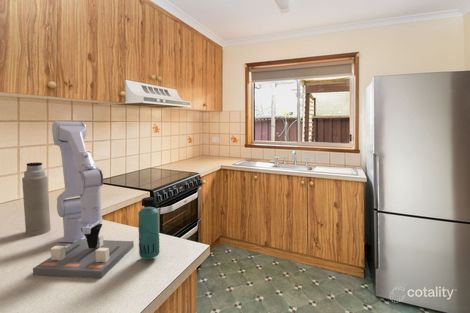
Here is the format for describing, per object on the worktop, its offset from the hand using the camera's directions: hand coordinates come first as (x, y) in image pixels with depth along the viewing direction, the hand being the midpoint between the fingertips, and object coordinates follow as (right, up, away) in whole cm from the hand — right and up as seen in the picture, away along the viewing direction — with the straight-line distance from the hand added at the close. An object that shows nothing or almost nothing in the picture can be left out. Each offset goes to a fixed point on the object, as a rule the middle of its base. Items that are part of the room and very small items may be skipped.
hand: (92, 247), depth 85 cm
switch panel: (0, -3, -2) cm, 4 cm away
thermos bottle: (-33, -1, +20) cm, 38 cm away
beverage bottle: (+19, -3, -1) cm, 19 cm away
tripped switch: (0, 0, +2) cm, 2 cm away
